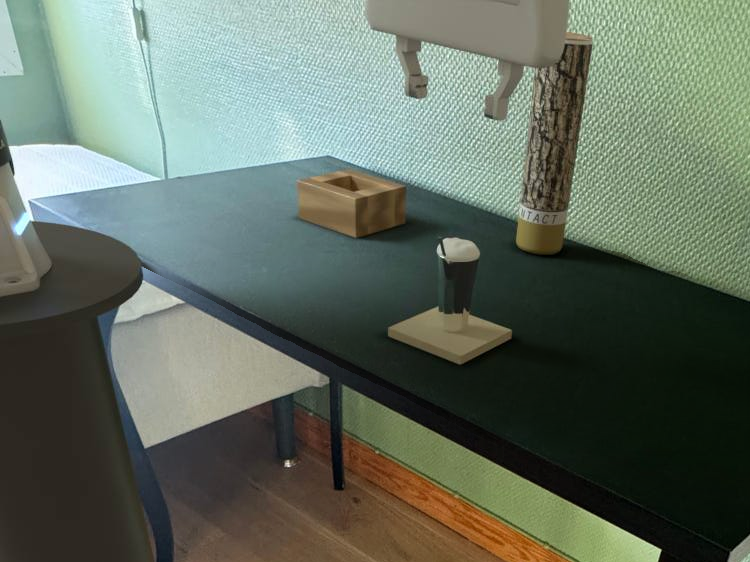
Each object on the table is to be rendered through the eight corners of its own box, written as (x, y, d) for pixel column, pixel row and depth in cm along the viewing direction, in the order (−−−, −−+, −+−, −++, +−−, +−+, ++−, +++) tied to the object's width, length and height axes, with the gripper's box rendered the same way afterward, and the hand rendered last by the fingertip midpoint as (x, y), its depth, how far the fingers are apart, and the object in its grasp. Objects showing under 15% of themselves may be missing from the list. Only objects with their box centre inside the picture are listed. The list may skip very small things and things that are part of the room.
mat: (460, 365, 85) (460, 355, 84) (387, 336, 89) (387, 327, 88) (511, 338, 92) (512, 330, 91) (441, 312, 95) (442, 304, 94)
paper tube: (526, 237, 119) (551, 29, 102) (568, 248, 117) (601, 37, 100) (507, 249, 115) (530, 32, 98) (551, 260, 113) (582, 41, 96)
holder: (356, 238, 112) (355, 199, 109) (298, 218, 116) (296, 180, 113) (405, 223, 119) (406, 186, 116) (349, 205, 123) (349, 168, 120)
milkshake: (419, 327, 89) (423, 231, 82) (451, 316, 92) (457, 222, 85) (450, 341, 87) (456, 243, 80) (481, 328, 90) (490, 233, 83)
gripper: (349, -106, 68) (349, 87, 78) (550, -75, 61) (524, 135, 70) (396, -100, 72) (391, 83, 82) (591, -70, 65) (561, 128, 74)
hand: (454, 107), depth 76 cm, fingers open, 8 cm apart
